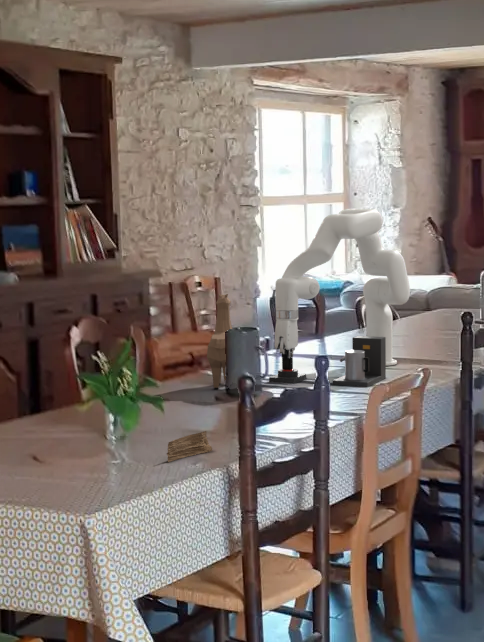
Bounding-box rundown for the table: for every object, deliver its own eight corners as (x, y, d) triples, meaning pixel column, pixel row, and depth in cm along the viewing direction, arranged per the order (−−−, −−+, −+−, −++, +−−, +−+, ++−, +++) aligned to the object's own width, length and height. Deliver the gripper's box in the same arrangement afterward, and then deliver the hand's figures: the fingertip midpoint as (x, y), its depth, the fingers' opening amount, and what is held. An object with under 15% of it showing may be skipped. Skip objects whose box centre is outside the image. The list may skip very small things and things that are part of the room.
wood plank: (172, 463, 277) (171, 442, 277) (165, 462, 279) (165, 441, 278) (212, 451, 289) (212, 431, 289) (205, 450, 291) (205, 430, 290)
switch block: (281, 377, 401) (281, 367, 400) (306, 378, 397) (306, 368, 396) (269, 382, 391) (269, 371, 391) (294, 383, 387) (294, 373, 387)
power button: (284, 373, 396) (284, 368, 396) (294, 374, 394) (294, 369, 394) (280, 375, 393) (280, 369, 393) (290, 375, 391) (290, 370, 391)
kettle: (343, 376, 390) (343, 349, 389) (372, 377, 386) (371, 350, 385) (336, 379, 385) (336, 351, 384) (365, 380, 380) (365, 353, 379)
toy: (238, 381, 393) (237, 292, 390) (234, 392, 373) (233, 298, 370) (212, 381, 394) (211, 293, 391) (207, 392, 374) (205, 298, 371)
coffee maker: (351, 376, 400) (351, 335, 399) (385, 378, 395) (385, 337, 394) (332, 384, 383) (332, 342, 382) (367, 387, 378) (367, 344, 377)
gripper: (285, 312, 400) (285, 365, 402) (267, 317, 387) (268, 372, 388) (305, 313, 396) (306, 367, 398) (288, 317, 383) (289, 373, 385)
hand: (287, 369), depth 393 cm, fingers closed
